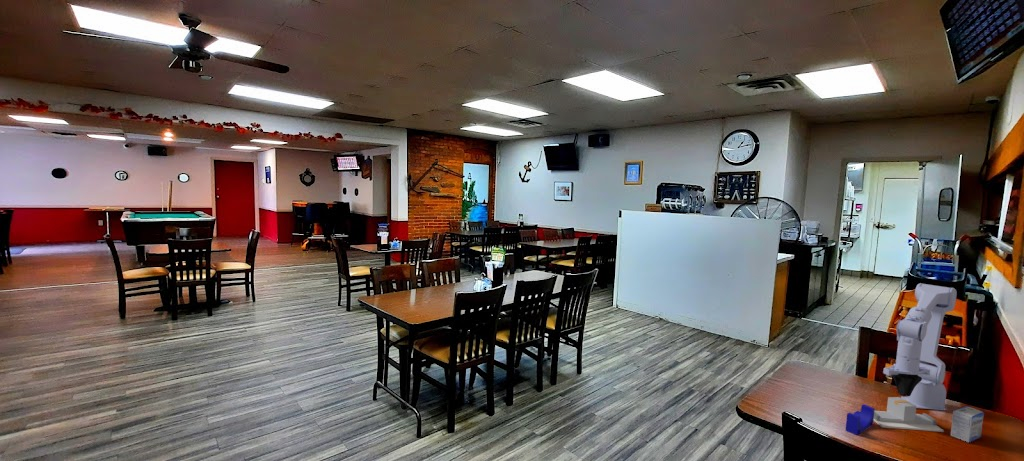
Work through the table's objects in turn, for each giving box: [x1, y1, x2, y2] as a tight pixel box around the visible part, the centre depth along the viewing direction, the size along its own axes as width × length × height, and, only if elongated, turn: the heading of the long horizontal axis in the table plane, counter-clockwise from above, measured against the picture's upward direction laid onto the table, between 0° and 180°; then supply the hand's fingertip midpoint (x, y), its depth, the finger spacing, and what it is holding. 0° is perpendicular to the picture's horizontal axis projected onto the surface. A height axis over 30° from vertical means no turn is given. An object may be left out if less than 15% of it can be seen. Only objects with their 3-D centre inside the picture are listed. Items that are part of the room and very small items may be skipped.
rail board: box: [873, 410, 945, 433], centre depth 144 cm, size 18×10×2 cm, turn 82°
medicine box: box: [950, 405, 985, 444], centre depth 135 cm, size 8×4×9 cm, turn 114°
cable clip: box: [845, 403, 876, 436], centre depth 140 cm, size 12×4×6 cm, turn 120°
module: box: [886, 396, 917, 421], centre depth 144 cm, size 4×6×5 cm
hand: (903, 394), depth 143 cm, fingers closed
